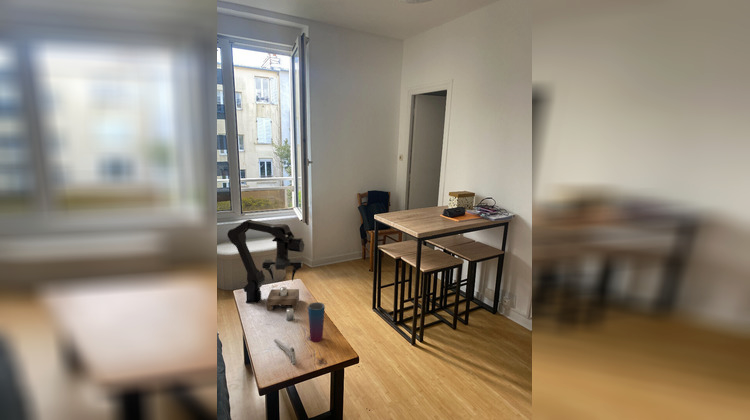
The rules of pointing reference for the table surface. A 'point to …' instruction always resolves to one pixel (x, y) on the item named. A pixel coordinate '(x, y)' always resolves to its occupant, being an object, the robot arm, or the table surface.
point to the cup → (316, 321)
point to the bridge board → (283, 298)
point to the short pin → (290, 314)
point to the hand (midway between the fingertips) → (282, 280)
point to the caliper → (287, 351)
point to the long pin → (283, 293)
